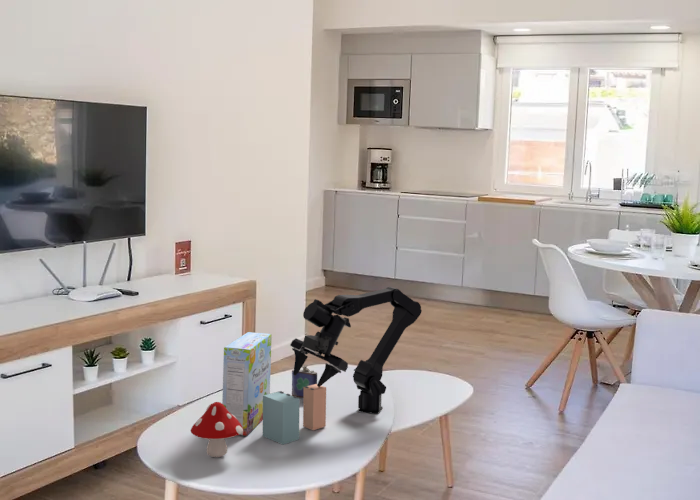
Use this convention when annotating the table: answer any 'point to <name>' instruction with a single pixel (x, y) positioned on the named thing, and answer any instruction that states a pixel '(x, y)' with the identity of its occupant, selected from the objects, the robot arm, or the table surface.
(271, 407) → the teal block
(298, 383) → the flask
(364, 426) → the table surface
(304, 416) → the stub
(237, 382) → the snack box
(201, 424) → the decorative mushroom
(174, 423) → the table surface
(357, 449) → the table surface
